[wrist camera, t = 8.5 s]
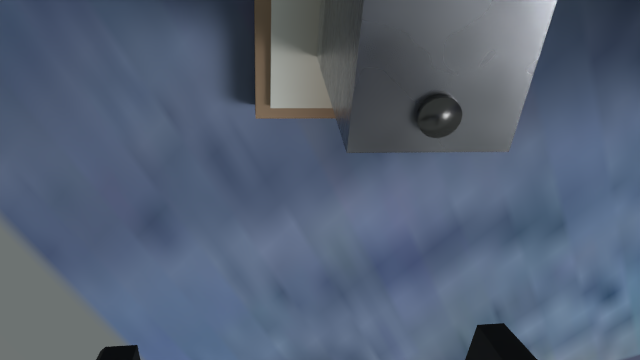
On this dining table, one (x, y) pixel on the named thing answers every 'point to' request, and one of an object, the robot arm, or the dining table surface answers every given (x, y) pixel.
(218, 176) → the dining table surface
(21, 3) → the dining table surface
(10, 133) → the dining table surface
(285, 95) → the wooden picture frame
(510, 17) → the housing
